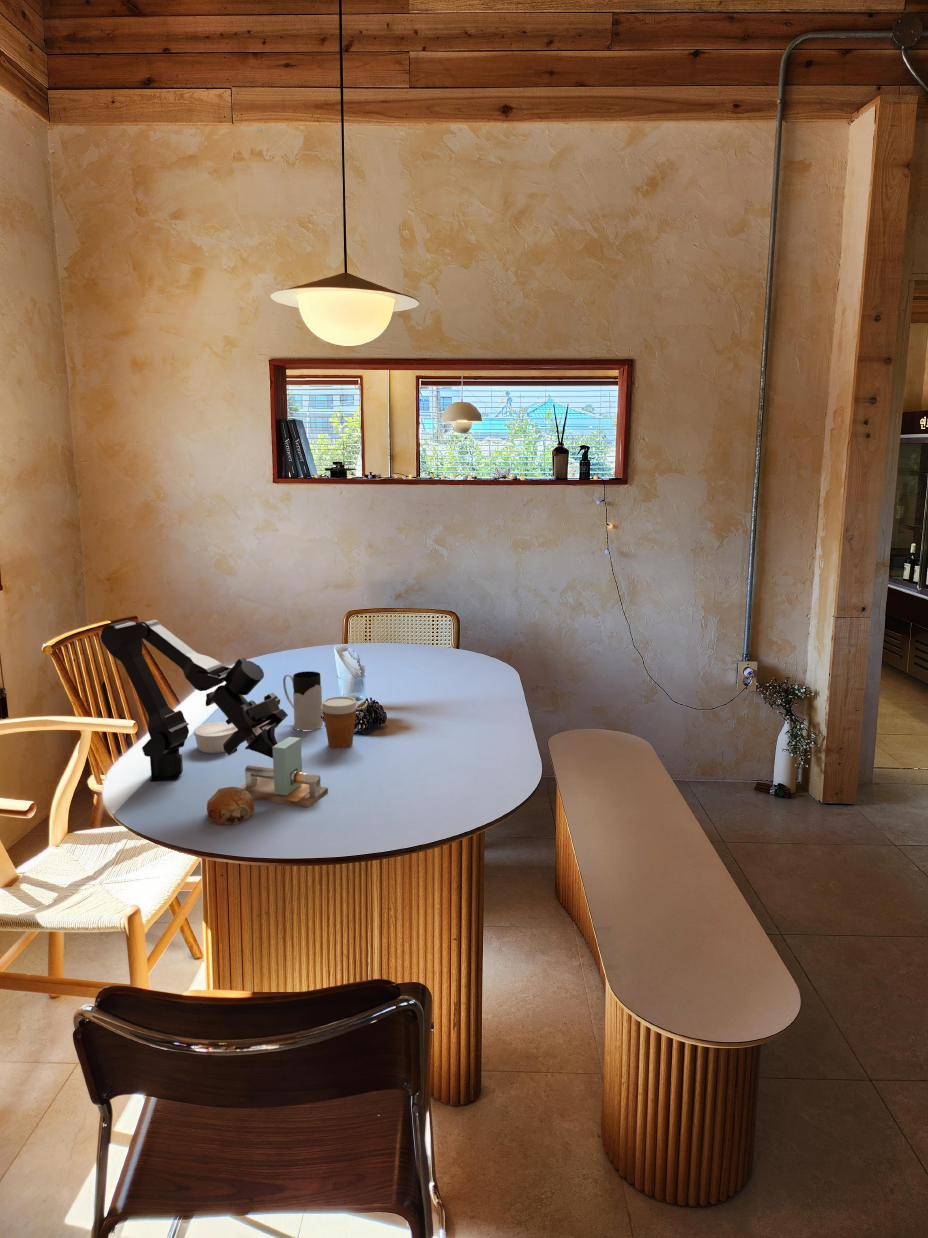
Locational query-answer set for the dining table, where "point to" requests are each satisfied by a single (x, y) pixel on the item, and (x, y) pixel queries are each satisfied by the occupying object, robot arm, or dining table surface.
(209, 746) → the ramekin
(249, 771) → the grey metal pipe
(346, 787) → the dining table surface
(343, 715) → the disposable coffee cup
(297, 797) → the walnut board
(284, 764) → the sage green slotted block
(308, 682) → the black and white mug
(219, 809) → the bread roll
